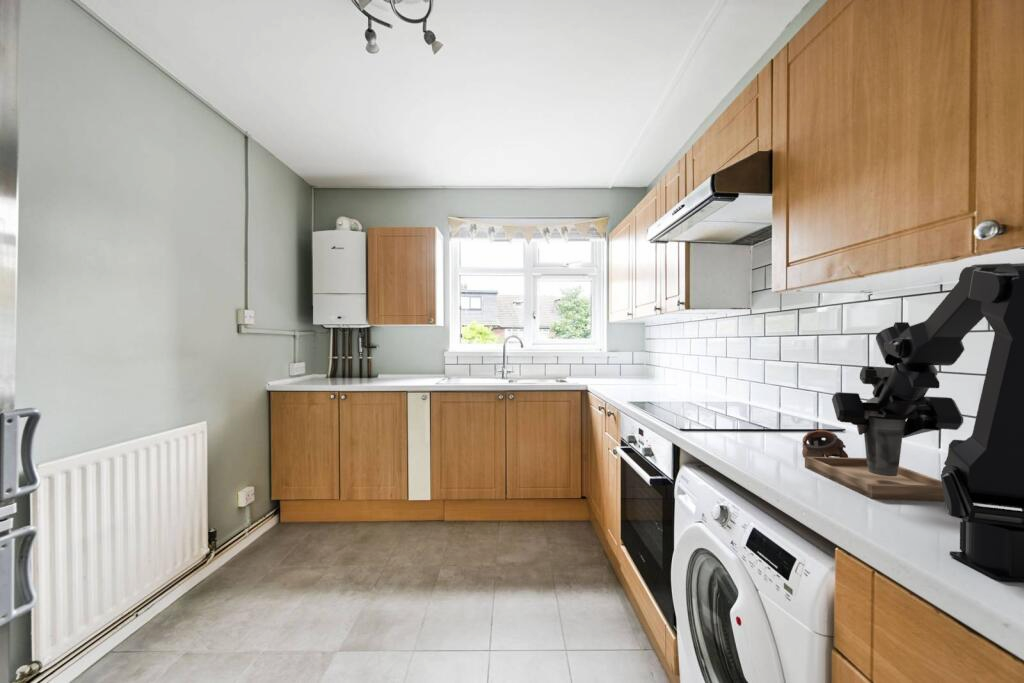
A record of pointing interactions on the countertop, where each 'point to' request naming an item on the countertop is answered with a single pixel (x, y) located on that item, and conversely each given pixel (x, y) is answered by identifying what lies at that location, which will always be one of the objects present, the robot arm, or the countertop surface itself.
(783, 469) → the countertop surface
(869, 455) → the beverage cup
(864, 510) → the countertop surface
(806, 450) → the brown rounded piece
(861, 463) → the walnut tray
